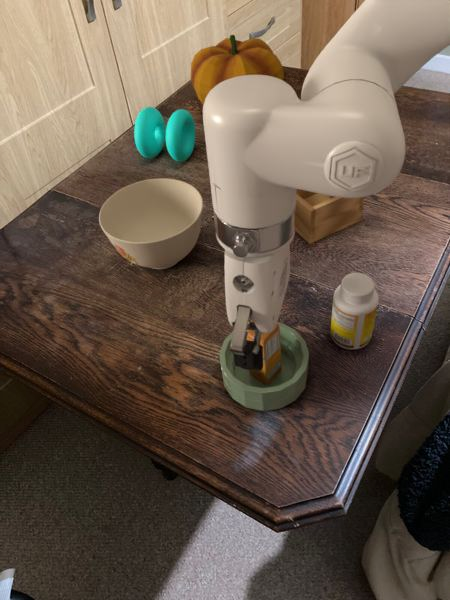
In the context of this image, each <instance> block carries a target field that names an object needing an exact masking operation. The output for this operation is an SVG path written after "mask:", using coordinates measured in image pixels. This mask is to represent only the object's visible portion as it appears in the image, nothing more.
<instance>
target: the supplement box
mask: <svg viewBox="0 0 450 600" xmlns="http://www.w3.org/2000/svg"><path fill="white" fill-rule="evenodd" d="M250 322H253V319H252V320H250ZM254 334H255V330H250V329H248V334H247V340H249V341H254ZM260 345H261V346H263V368H262V370H261V371H258V370H253V369H252V370H249V374H250V375H252V376H253V377H255V378H256V379H258V380H259V381H260V382H262V383H263V384H265V385H266V386H267V385H268V384H269V383H270V382H271V381H272V380H273V379H274V378H275V377H276V376H277V375H278V374H279V373H280V372H281V370H282V368H281V348H280V326H279V324H276V327H275V329H274V330H273V331H272V332H271V333H262V332H261V340H260Z"/></svg>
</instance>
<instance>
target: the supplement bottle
mask: <svg viewBox="0 0 450 600" xmlns="http://www.w3.org/2000/svg"><path fill="white" fill-rule="evenodd" d="M379 301H380V300H379V293H378V292H377V290H376V289H375V282H374V280H373V279H372V277H370V276H369V275H367V274H365V273H361V272H351V273H348V274H346V275H345V276H344V277H343V278H342V280H341V284H339V286H337V287H336V288H335V290H334V293H333V298H332V308H331V309H332V310H331V319H330V332H329V333H330V337H331V339H332V340H333V342H334V343H335V344H336V345H337V346H339V347H340V348H342V349H346V350H359V349H362V348H364V347H365V346H367V345H368V344H369V343H370V341H371V339H372V336H373V332H374V327H375V323H376V322H375V321H376V317H377V311H378V305H379Z"/></svg>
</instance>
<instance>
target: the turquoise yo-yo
mask: <svg viewBox="0 0 450 600" xmlns="http://www.w3.org/2000/svg"><path fill="white" fill-rule="evenodd" d="M133 130H134V132H133V137H134V143H135V147H136V149H137V151H138V153H139V154H140V155H141V156H142V157H144V158H146V159H153V158H156V157H157V156H159V154H160V153H161V152H162V150H163V148H164V145H165V146H166V149H167V152H168V154H169V156H170V157H171V158H172V159H173V160H174V161H176V162H181V163H182V162H185V161H187V160H188V159H189V158H190V157H191V155H192V153H193V151H194V147H195V144H196V143H195V142H196V124H195V120H194V117H193V116H192V114H191V113H190V112H189V110H186V109H184V108H183V109H177V110H175V111H174V112H172V114H171V115H170V117H169V118H168V121H167V123H165V119H164V117H163V115H162V113H161V112H160V111H159V110H158V109H157V108H156V107H153V106H147V107H144V108H143V109H141V110H140V112H139V113H138V114H137V116H136V119H135V123H134V129H133Z"/></svg>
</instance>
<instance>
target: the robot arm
mask: <svg viewBox="0 0 450 600" xmlns="http://www.w3.org/2000/svg"><path fill="white" fill-rule="evenodd" d="M449 46H450V0H363V2H362V3H361V4H360V6H358V8H357V9H356V10H354V12H353V13H352V14H351V15H350V17H349V18H348V19H347V20H346V22H345V23H344V24H343V25H342V26H341V27H340V29H339V30H337V32H336V34H335V35H334V36H333V37H332V38H331V40H330V41H329V42H327V44H326V46H324V48H323V49H322V50H321V51H320V53H319V54H318V55H317V57H316V58H315V59H314V61H313V63H312V64H311V66H310V68H309V70H308V72H307V73H306V76H305V78H304V81H303V83H302V87H301V92H300V93H301V94H300V98H299V97H298V95H297V92H296V91H295V90H294V88H293V87H292V86H291V84H289V83H288V82H286V81H283V80H281V79H279V78H276V77H272V76H267V75H244V76H238V77H234V78H231V79H227V80H225V81H223V82H221V83H219V84H218V85H216V86H215V87H214V88H213V89H212V90H211V91H210V92H209V93H208V95H207V97H206V98H205V102H204V105H203V104H202V105H203V106H202V122H203V123H202V124H203V131H204V140H205V141H204V142H205V150H206V157H207V166H208V175H209V182H210V192H211V202H212V210H213V218H214V219H213V220H214V227H215V228H214V229H215V237H216V240H217V242H218V244H219V245H220V246H221V247H222V248H223V249H224V266H223V268H224V295H225V309H226V315H227V320H228V322H229V324H230V325H231V327H233V330H232V332H233V335H232V340H231V345H230V350H231V351H232V354H233V355H234V364H235V365H236V366H238V367H241V368H243V369H246V370H252V369H253V370H258V371H261V370H262V368H263V346H261V345H260V340H261V332H262V333H271V332H272V331H273V330H274V329H275V327H276V324H277V322H279V317H280V315H281V311H282V307H283V303H284V300H285V297H286V293H287V290H288V285H289V281H290V276H291V242H293V240H294V238H295V235H296V231H295V218H296V192H297V189H301V190H305V191H310V192H314V193H318V194H323V195H328V196H334V197H342V198H359V197H364V198H365V197H369V196H372V195H376V194H377V193H380V192H382V191H384V189H387V188H388V187H389V186H390V185H391V184H392V183H393V182H394V181H395V180H396V179H397V177H398V176H399V174H400V173H401V171H402V168H403V166H404V163H405V158H406V151H407V150H406V138H405V133H404V130H403V124H402V121H401V118H400V113H399V109H398V105H397V101H396V97H395V94H396V93H397V92H398V91H399V90H401V88H402V87H403V86H404V85H405V84H406V83H407V82H408V81H409V80H410V79H411V78H412V77H413V76H415V74H416V73H418V71H419V70H421V69H422V68H423V67H424V66H425V65H426V64H428V62H430V60H432V59H433V58H435V56H437V55H438V54H440V53H441V52H442V51H443V50H444V49H446V48H447V47H449ZM251 319H252V320H253V322H251V321H252V320H251ZM248 329H250V330H255V334H254V341H249V340H247V334H248Z"/></svg>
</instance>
